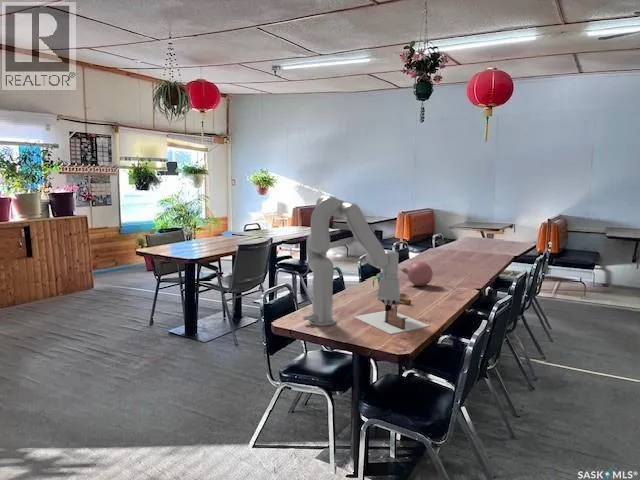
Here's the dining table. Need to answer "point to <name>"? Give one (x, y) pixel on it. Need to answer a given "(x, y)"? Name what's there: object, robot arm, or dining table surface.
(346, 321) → the dining table surface
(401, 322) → the base
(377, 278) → the snack cup
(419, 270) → the balloon
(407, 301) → the kendama
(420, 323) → the card
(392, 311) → the swing panel
